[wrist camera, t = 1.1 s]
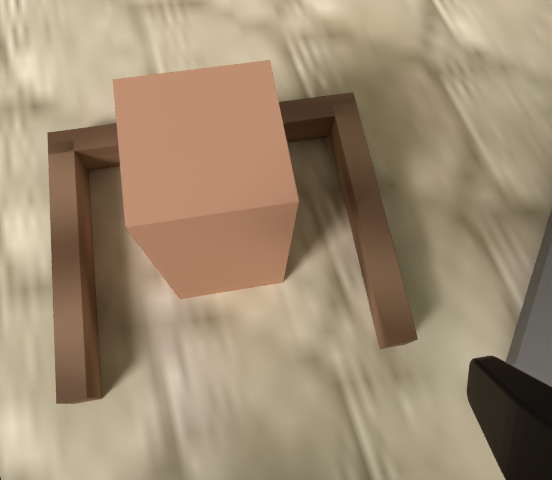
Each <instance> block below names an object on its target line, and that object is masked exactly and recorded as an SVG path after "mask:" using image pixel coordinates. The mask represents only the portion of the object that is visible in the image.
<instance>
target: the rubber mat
mask: <svg viewBox="0 0 552 480" xmlns="http://www.w3.org/2000/svg"><path fill="white" fill-rule="evenodd" d="M506 363H508V364H510V365H512V366H514V367H516V368H517V369H519V370H521V371H523V372H525V373H527V374H529V375H531V376H532V377H534V378H536V379H538V380H540V381H542V382H544V383H545V384H547V385H549V386H551V387H552V211H551V215H550V218H549V221H548V224H547V228H546V231H545V234H544V238H543V241H542V244H541V248H540V251H539V254H538V258H537V261H536V264H535V267H534V271H533V274H532V277H531V281H530V284H529V287H528V291H527V294H526V297H525V301H524V304H523V307H522V310H521V314H520V317H519V320H518V324H517V327H516V330H515V334H514V337H513V340H512V344H511V347H510V350H509V353H508V357H507V360H506Z"/></svg>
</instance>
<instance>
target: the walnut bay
mask: <svg viewBox="0 0 552 480" xmlns="http://www.w3.org/2000/svg"><path fill="white" fill-rule="evenodd" d="M279 106H280V111H281V116H282V121H283V126H284V131H285V136H286V140H287V142H293V141H301V140H308V139H315V138H322V137H329V136H330V140H331V145H332V149H333V153H334V157H335V161H336V166H337V170H338V174H339V178H340V183H341V187H342V191H343V195H344V199H345V204H346V208H347V212H348V216H349V220H350V225H351V229H352V233H353V237H354V242H355V246H356V250H357V254H358V258H359V263H360V267H361V271H362V275H363V279H364V284H365V288H366V292H367V296H368V301H369V305H370V309H371V313H372V317H373V322H374V326H375V330H376V334H377V339H378V343H379V347H380V349H382V348H388V347H394V346H399V345H405V344H407V343H410V342H412V341H415V340H417V339H418V338H417V334H416V330H415V327H414V323H413V319H412V315H411V311H410V307H409V304H408V300H407V296H406V292H405V288H404V285H403V281H402V277H401V273H400V269H399V266H398V262H397V258H396V254H395V250H394V247H393V243H392V239H391V235H390V231H389V227H388V224H387V220H386V216H385V212H384V208H383V205H382V201H381V197H380V193H379V189H378V186H377V182H376V178H375V174H374V170H373V167H372V163H371V159H370V155H369V151H368V148H367V144H366V140H365V136H364V132H363V128H362V125H361V121H360V117H359V113H358V109H357V106H356V102H355V98H354V94H353V93H345V94H337V95H330V96H322V97H315V98H307V99H300V100H292V101H284V102H279ZM48 160H49V190H50V220H51V251H52V281H53V312H54V342H55V372H56V403H57V404H75V403H80V402H86V401H92V400H97V399H102V392H101V375H100V359H99V343H98V326H97V310H96V293H95V277H94V260H93V244H92V227H91V211H90V194H89V178H88V170H92V169H99V168H107V167H114V166H120V158H119V146H118V134H117V124H110V125H102V126H95V127H87V128H79V129H72V130H64V131H57V132H49V133H48Z"/></svg>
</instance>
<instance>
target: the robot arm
mask: <svg viewBox="0 0 552 480" xmlns="http://www.w3.org/2000/svg"><path fill="white" fill-rule="evenodd" d="M467 397H468V401H469V403H470V406H471V408H472V410H473V412H474V414H475V416H476V418H477V421H478V423H479V425H480V427H481V429H482V431H483V433H484V436H485V438H486V440H487V442H488V444H489V446H490V448H491V450H492V453H493V455H494V457H495V459H496V461H497V463H498V465H499V467H500V469H501V471H502V473H503V475H504V477H505V479H506V480H552V387H551V386H549V385H547V384H545V383H544V382H542V381H540V380H538V379H536V378H534V377H532V376H531V375H529V374H527V373H525V372H523V371H521V370H519V369H517V368H516V367H514V366H512V365H510V364H508V363H506V362H504V361H502V360H501V359H499V358H497V357H494V356H485V357H479V358H474V359H472V360H471V362H470V365H469V374H468V383H467ZM0 480H1V478H0Z"/></svg>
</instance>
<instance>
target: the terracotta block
mask: <svg viewBox="0 0 552 480" xmlns="http://www.w3.org/2000/svg"><path fill="white" fill-rule="evenodd" d="M113 86H114V98H115V110H116V122H117V134H118V146H119V158H120V170H121V182H122V194H123V206H124V218H125V228H126V229H127V230H128V232H129V233H130V234H131V236H132V237H133V238H134V240H135V241H136V242H137V243H138V245H139V246H140V247H141V249H142V250H143V251H144V253H145V254H146V255H147V257H148V258H149V259H150V260H151V262H152V263H153V264H154V266H155V267H156V268H157V270H158V271H159V272H160V274H161V275H162V276H163V277H164V279H165V280H166V281H167V283H168V284H169V285H170V287H171V288H172V289H173V291H174V292H175V293H176V295H177V296H178V297H179V298H180V299H184V298H190V297H196V296H202V295H208V294H214V293H220V292H227V291H233V290H239V289H245V288H251V287H257V286H263V285H269V284H275V283H281V282H283V280H284V275H285V270H286V265H287V260H288V255H289V250H290V245H291V240H292V234H293V229H294V224H295V219H296V214H297V209H298V204H299V199H298V194H297V189H296V184H295V179H294V174H293V170H292V165H291V160H290V155H289V150H288V145H287V140H286V136H285V131H284V126H283V121H282V116H281V111H280V106H279V101H278V97H277V92H276V87H275V82H274V77H273V72H272V67H271V63H270V60H267V61H259V62H251V63H243V64H235V65H226V66H218V67H210V68H202V69H194V70H186V71H178V72H170V73H162V74H154V75H146V76H138V77H130V78H122V79H113Z"/></svg>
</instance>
